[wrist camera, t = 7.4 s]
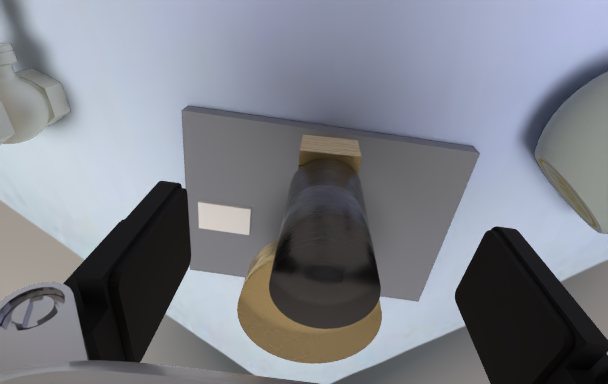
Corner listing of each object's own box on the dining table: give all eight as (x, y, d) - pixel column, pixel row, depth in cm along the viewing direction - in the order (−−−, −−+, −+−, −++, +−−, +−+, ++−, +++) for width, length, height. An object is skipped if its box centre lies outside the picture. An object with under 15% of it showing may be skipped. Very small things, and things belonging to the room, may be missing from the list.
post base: (188, 105, 23) (137, 140, 17) (473, 146, 23) (525, 195, 17) (195, 260, 30) (160, 325, 24) (415, 291, 30) (437, 363, 24)
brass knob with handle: (414, 144, 16) (485, 257, 9) (363, 336, 22) (380, 489, 15) (247, 127, 16) (180, 224, 9) (246, 323, 23) (208, 469, 15)
